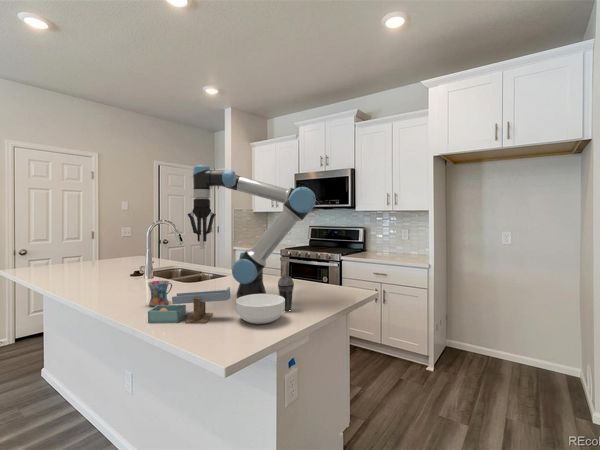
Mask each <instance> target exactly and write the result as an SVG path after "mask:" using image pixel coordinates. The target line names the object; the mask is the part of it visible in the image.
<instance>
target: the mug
mask: <svg viewBox="0 0 600 450" xmlns="http://www.w3.org/2000/svg"><path fill="white" fill-rule="evenodd" d="M169 285H170V288H169V290H168V287H169ZM147 286H148V287H149V291H150V301H149V303H148V305H149V306H151V307H155V306H156V305H169V300H168V296H167V295H168V294H169V293H170V292H171V290H172V288H173V284H172V283H171V282H170V281H169V280H152V281H149V282H148V283H147Z"/></svg>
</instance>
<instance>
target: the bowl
mask: <svg viewBox="0 0 600 450" xmlns="http://www.w3.org/2000/svg"><path fill="white" fill-rule="evenodd" d="M284 310H285V299H284V298H283V297H282V296H279V294H272V293H266V294H252V295H246V296H242V297H240V298H236V299H235V311H236V315H238V316H239V317H240V318H241V319H242V320H244V321H245V322H247V323H250V324H256V325H261V324H271V323H272V322H274V321H276V320H278V319H279V318H280V317H281V316H282V314H283V313H285V312H284Z"/></svg>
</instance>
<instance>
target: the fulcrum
mask: <svg viewBox="0 0 600 450" xmlns="http://www.w3.org/2000/svg"><path fill="white" fill-rule="evenodd" d="M206 309H207V308H206V302H200V298H194V303H193V313H192V314H191V315H190V316H189V317H188V318H187V319H186V320H185V324H207V323H208V321H210V319H211V317H213V315H214V312H207V311H206Z"/></svg>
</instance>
